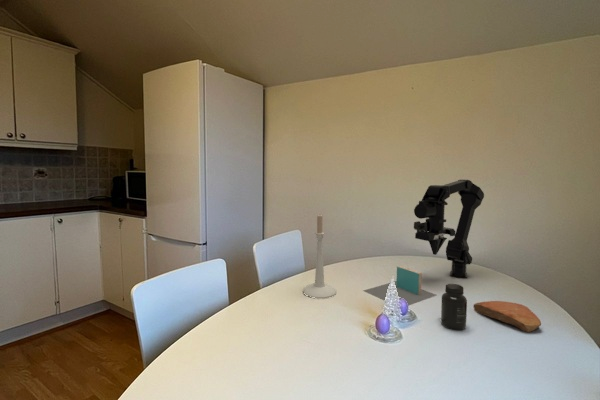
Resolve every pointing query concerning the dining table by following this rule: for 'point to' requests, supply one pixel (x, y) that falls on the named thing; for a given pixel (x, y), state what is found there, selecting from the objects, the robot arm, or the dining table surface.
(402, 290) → the mat
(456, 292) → the supplement bottle
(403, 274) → the tile
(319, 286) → the candlestick
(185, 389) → the dining table surface
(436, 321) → the dining table surface
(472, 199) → the robot arm
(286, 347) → the dining table surface
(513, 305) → the ceramic shard
